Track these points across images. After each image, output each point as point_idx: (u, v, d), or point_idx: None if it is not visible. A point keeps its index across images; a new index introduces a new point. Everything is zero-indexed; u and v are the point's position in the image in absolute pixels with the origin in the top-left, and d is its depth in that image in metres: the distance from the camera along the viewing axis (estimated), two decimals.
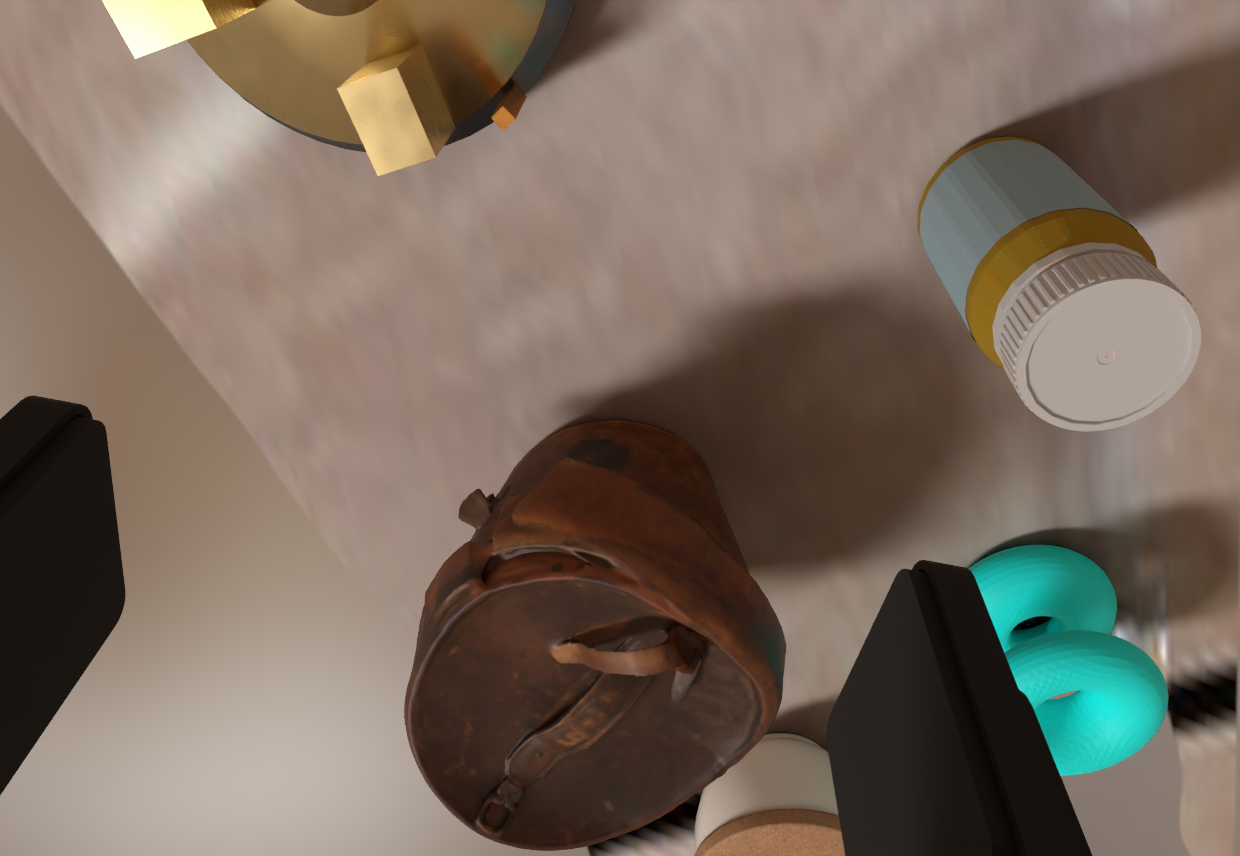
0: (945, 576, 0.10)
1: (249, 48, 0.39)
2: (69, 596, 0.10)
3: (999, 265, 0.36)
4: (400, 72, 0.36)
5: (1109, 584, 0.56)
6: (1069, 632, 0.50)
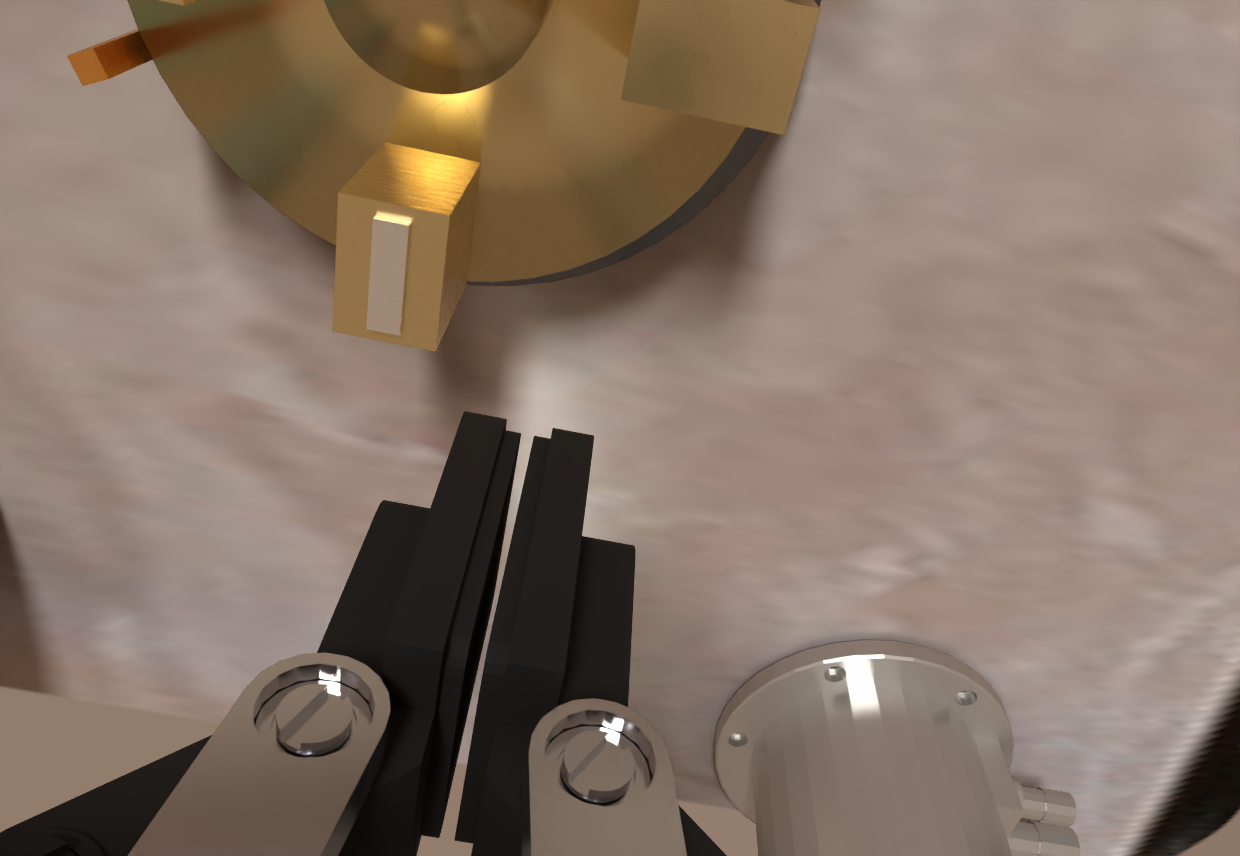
0: (563, 439, 0.11)
1: None
2: (491, 588, 0.12)
3: None
4: (174, 2, 0.19)
5: None
6: None
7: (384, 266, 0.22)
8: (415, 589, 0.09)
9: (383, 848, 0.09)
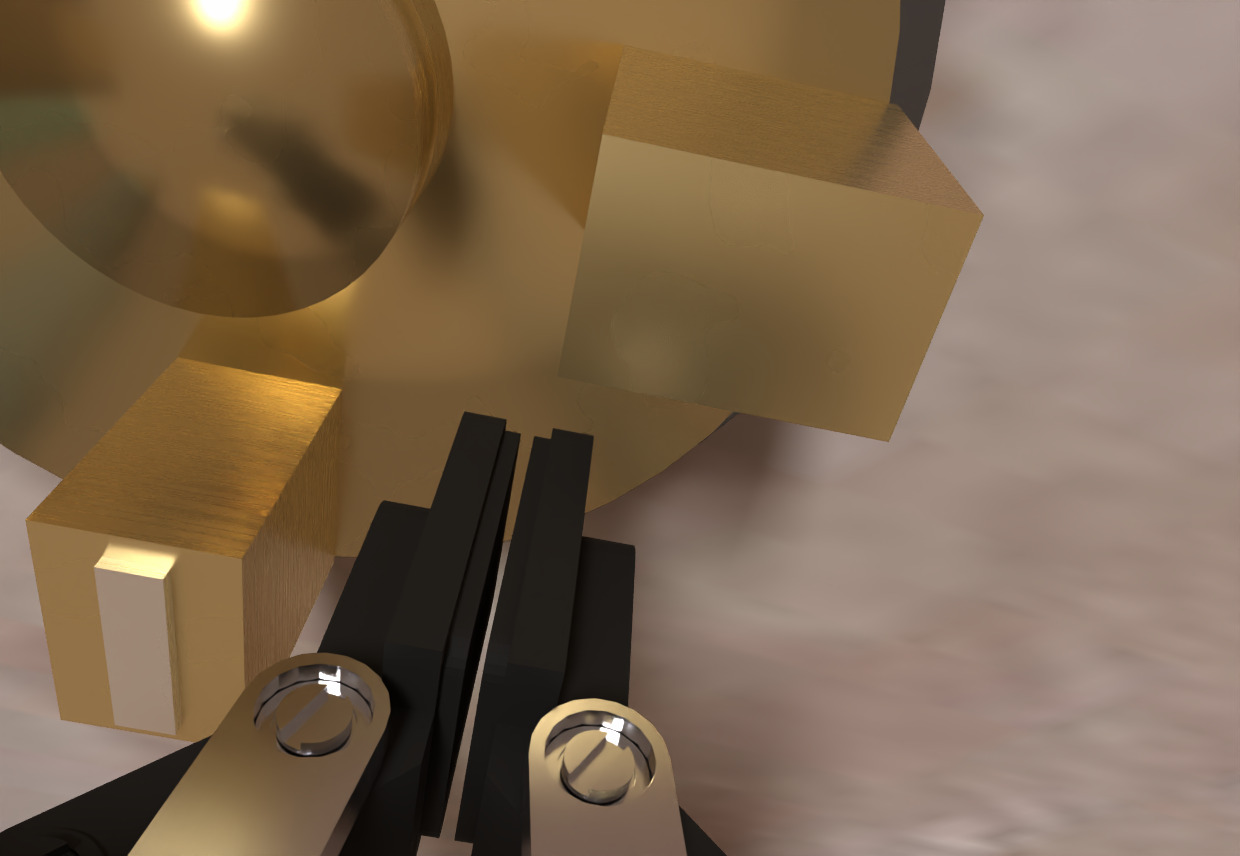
0: (563, 439, 0.11)
1: None
2: (491, 588, 0.12)
3: None
4: None
5: None
6: None
7: (129, 638, 0.12)
8: (415, 589, 0.09)
9: (383, 848, 0.09)
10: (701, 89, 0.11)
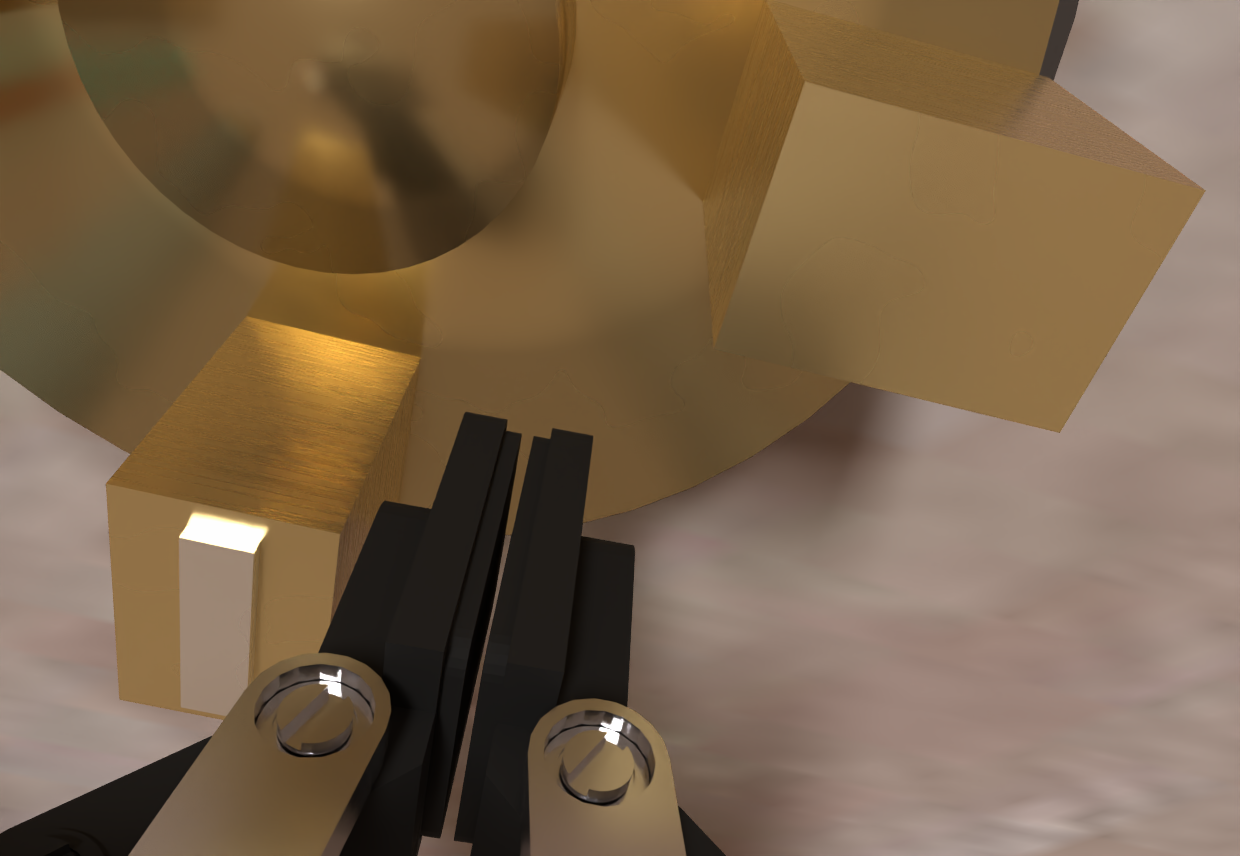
0: (562, 439, 0.11)
1: None
2: (492, 589, 0.12)
3: None
4: None
5: None
6: None
7: (208, 615, 0.11)
8: (416, 590, 0.09)
9: (384, 849, 0.09)
10: (864, 46, 0.10)
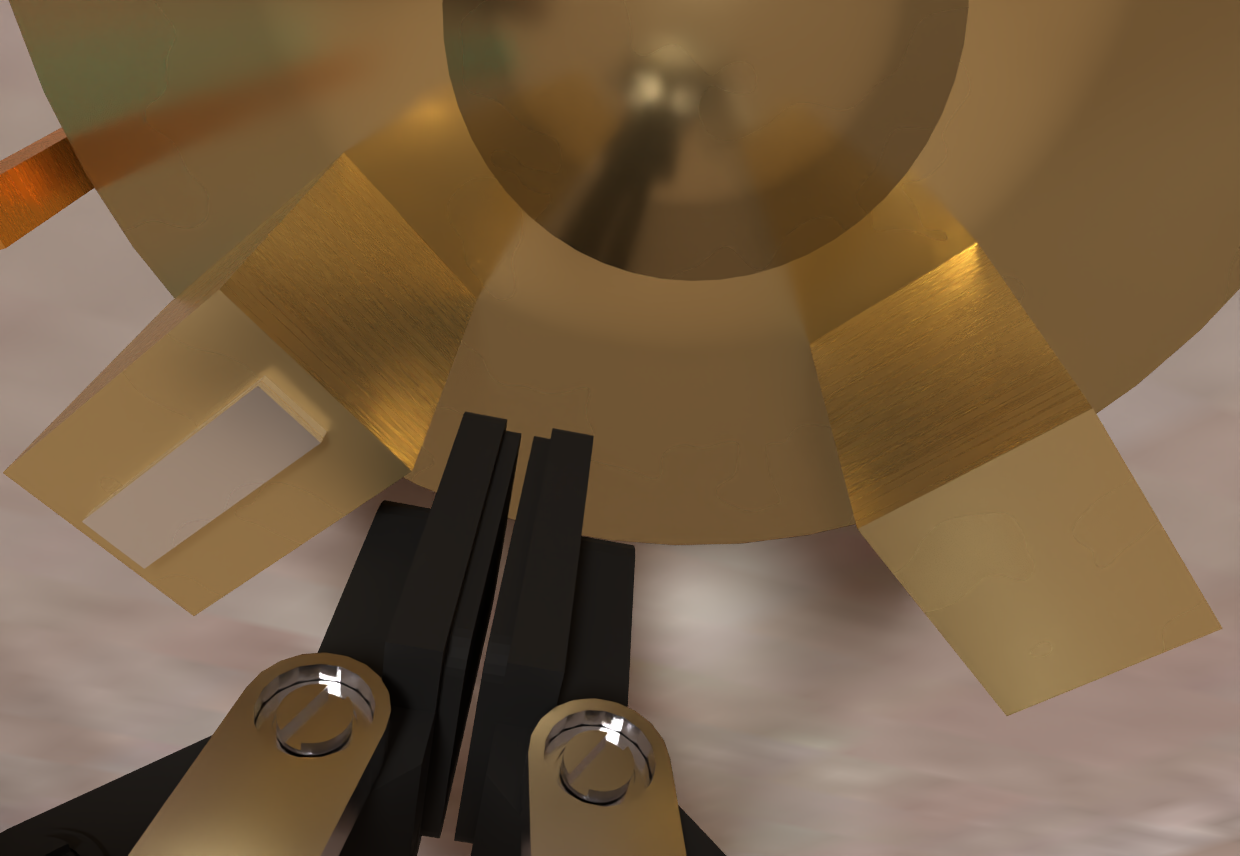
0: (563, 439, 0.11)
1: None
2: (492, 589, 0.12)
3: None
4: None
5: None
6: None
7: (210, 464, 0.10)
8: (416, 589, 0.09)
9: (384, 848, 0.09)
10: None
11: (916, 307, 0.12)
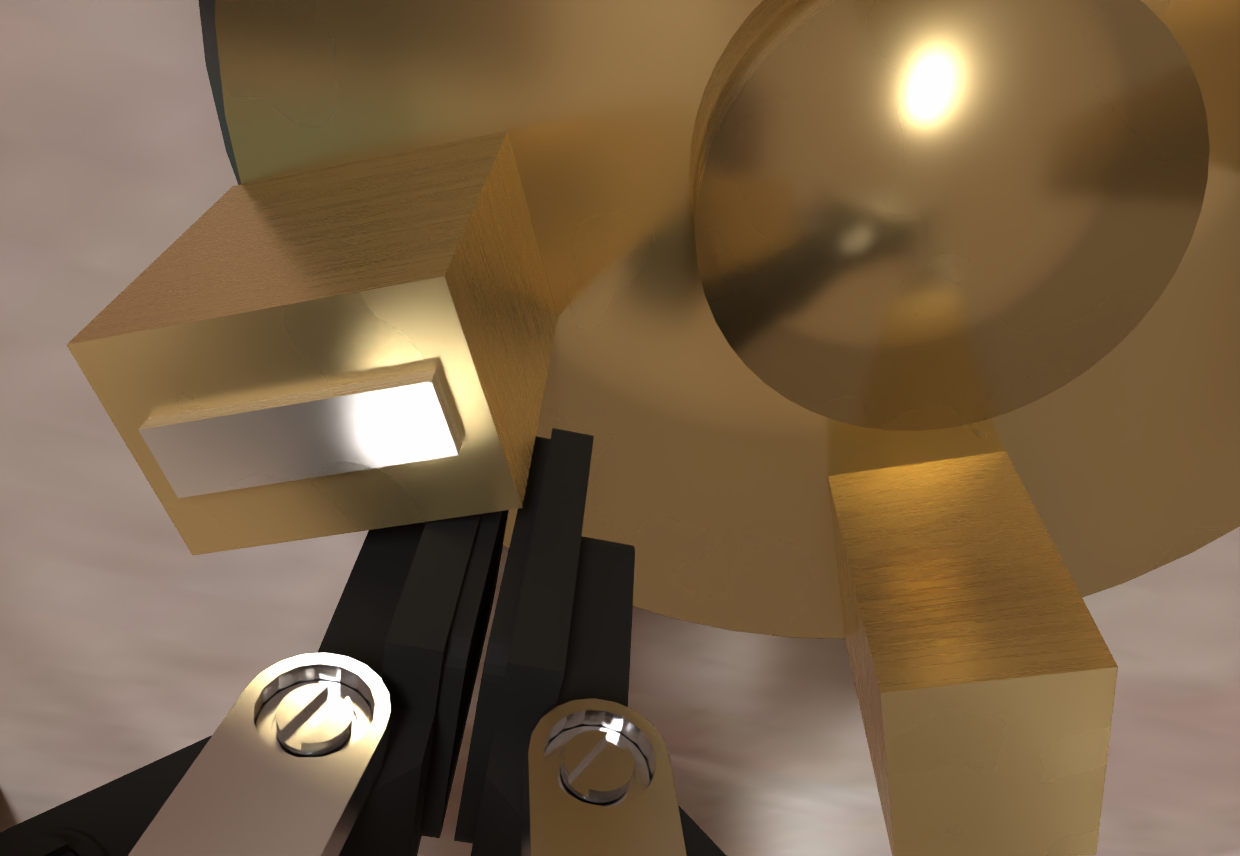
0: (562, 439, 0.11)
1: None
2: (491, 589, 0.12)
3: None
4: None
5: None
6: None
7: (327, 431, 0.09)
8: (415, 590, 0.09)
9: (384, 849, 0.09)
10: None
11: (943, 489, 0.13)
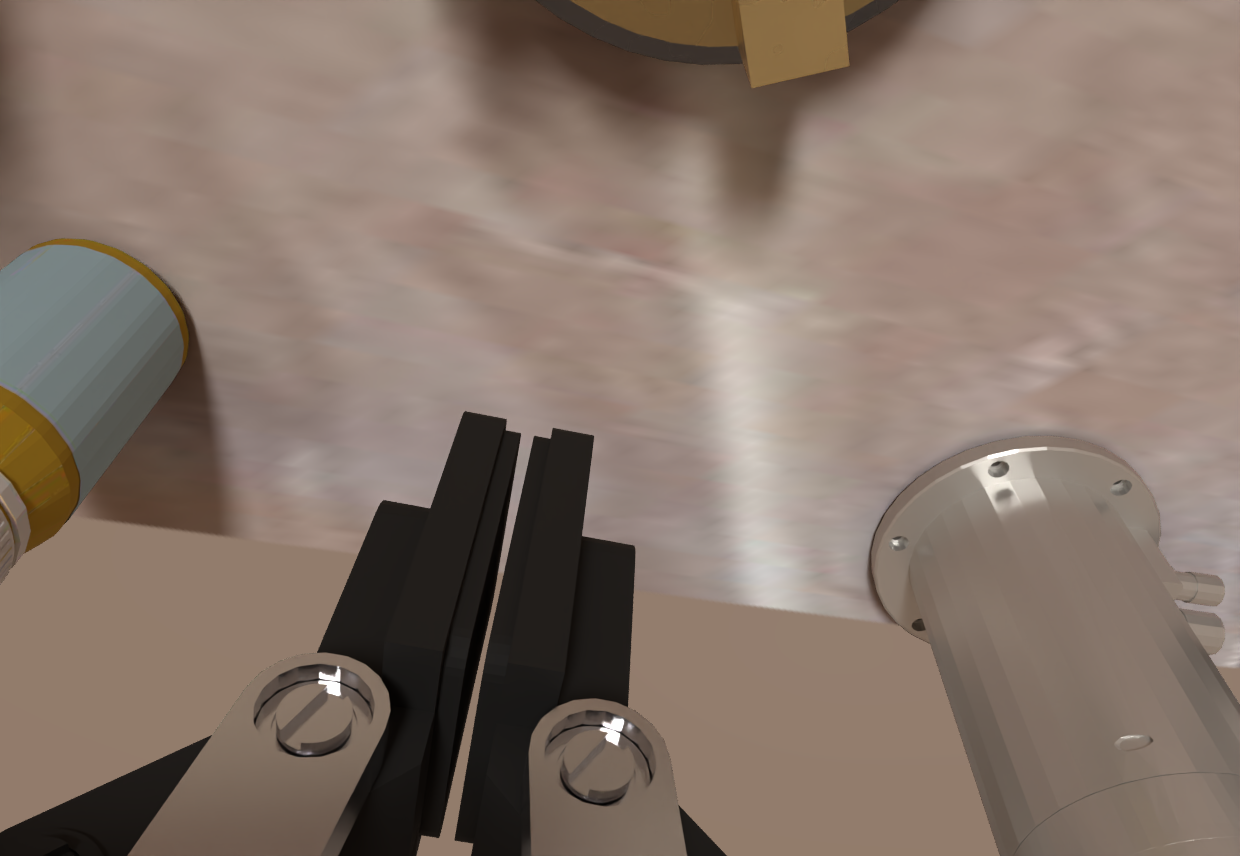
0: (563, 439, 0.11)
1: None
2: (491, 588, 0.12)
3: (13, 431, 0.28)
4: None
5: None
6: None
7: None
8: (415, 589, 0.09)
9: (383, 848, 0.09)
10: None
11: None
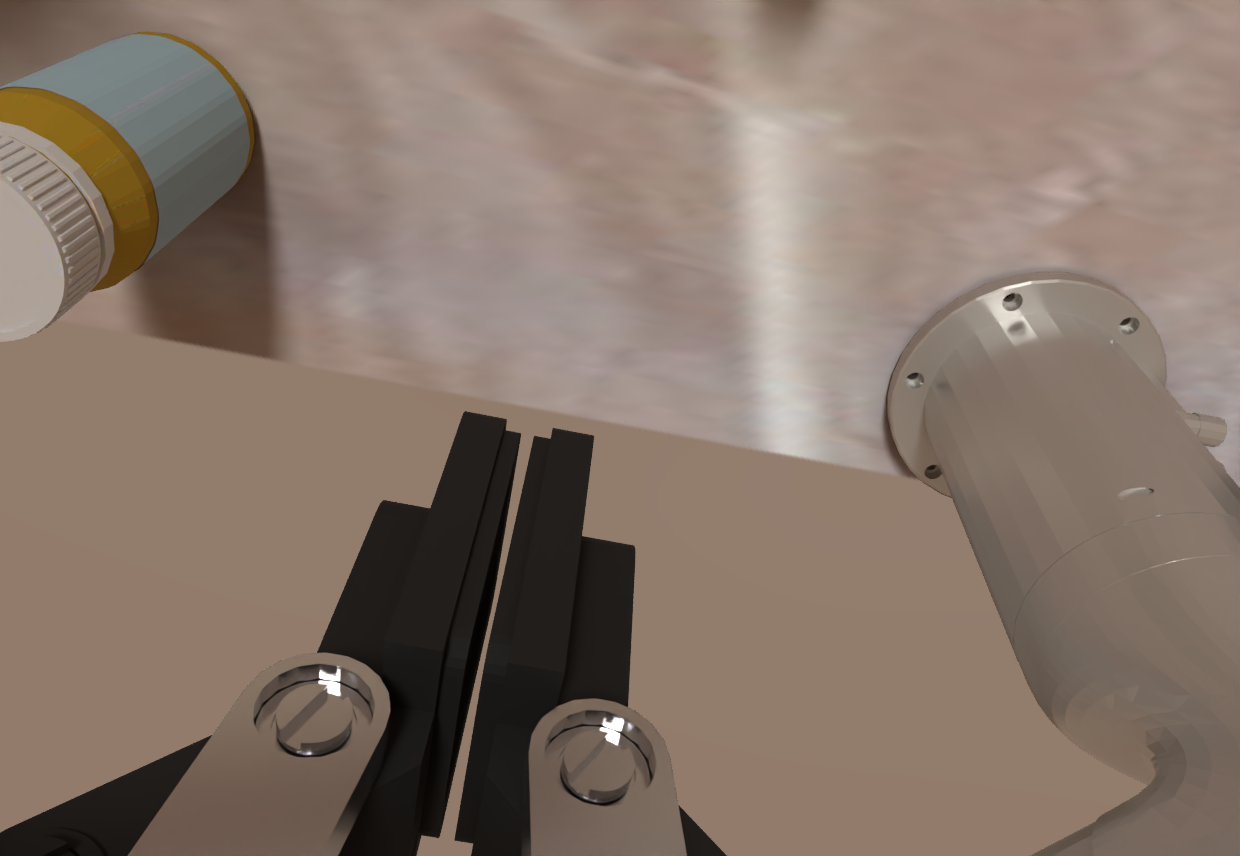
0: (563, 439, 0.11)
1: None
2: (491, 588, 0.12)
3: (105, 152, 0.31)
4: None
5: None
6: None
7: None
8: (415, 589, 0.09)
9: (383, 848, 0.09)
10: None
11: None
